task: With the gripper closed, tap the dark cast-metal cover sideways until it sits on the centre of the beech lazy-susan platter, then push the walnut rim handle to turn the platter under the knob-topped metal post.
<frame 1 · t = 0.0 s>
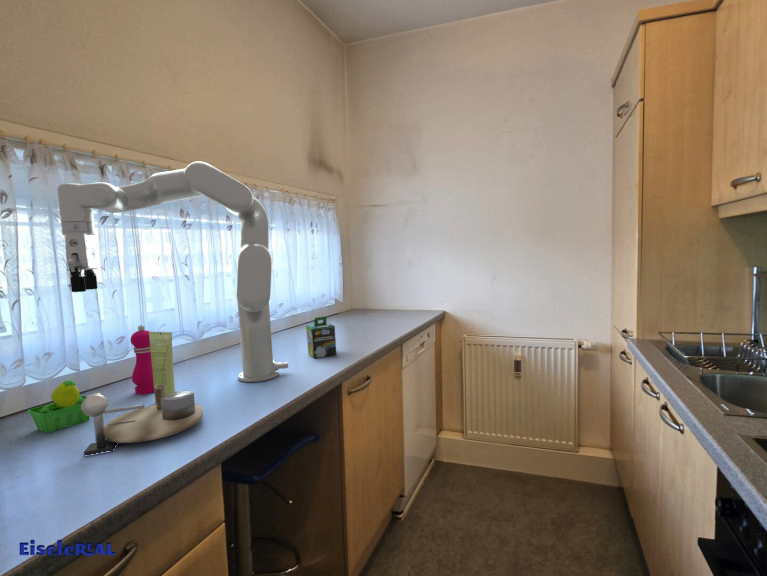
hand: (85, 290, 119), 31 cm above the worktop, tool pointing down, fingers open, 9 cm apart
chalk box: (322, 355, 162), on the worktop
turntable: (154, 410, 97), point 5 cm above the worktop, hinge at 0.0°, touching cover
fruit basket: (65, 425, 103), on the worktop
tube: (166, 402, 116), on the worktop
cover: (179, 414, 99), point 3 cm above the worktop, touching turntable
knob-topped metal post: (101, 449, 88), on the worktop
pepper mill: (147, 392, 126), on the worktop
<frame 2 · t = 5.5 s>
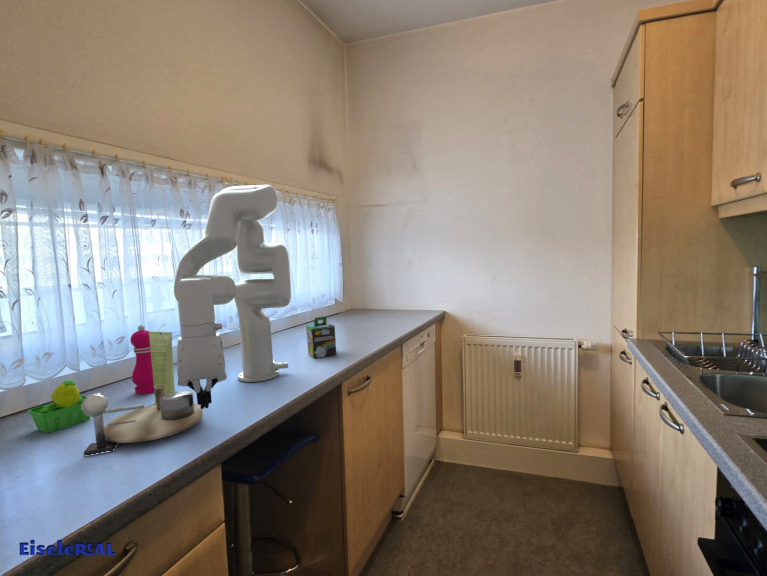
hand: (205, 406, 100), 4 cm above the worktop, tool pointing down, fingers closed
cover: (178, 414, 99), point 3 cm above the worktop, touching gripper, turntable
everything else where it was.
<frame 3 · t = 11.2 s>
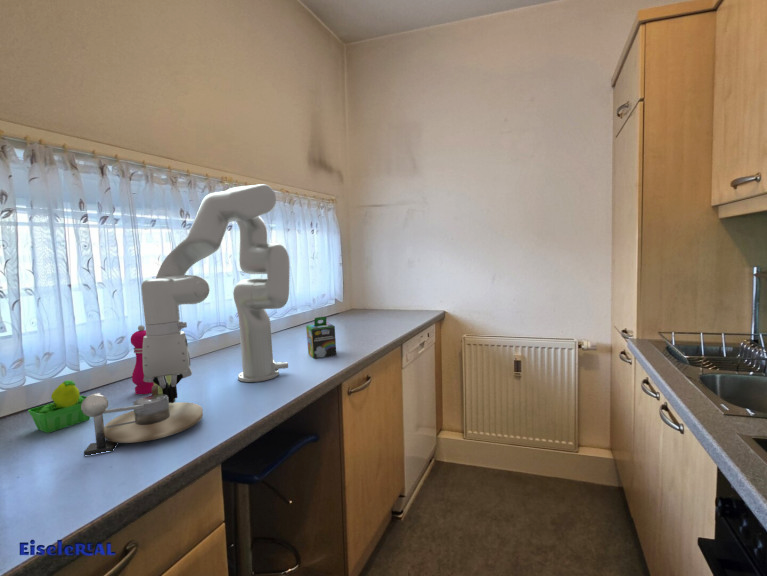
hand: (170, 401, 105), 4 cm above the worktop, tool pointing down, fingers closed
turntable: (154, 410, 97), point 5 cm above the worktop, hinge at 7.7°, touching cover, gripper
cover: (152, 418, 97), point 3 cm above the worktop, touching turntable
everything else where it was.
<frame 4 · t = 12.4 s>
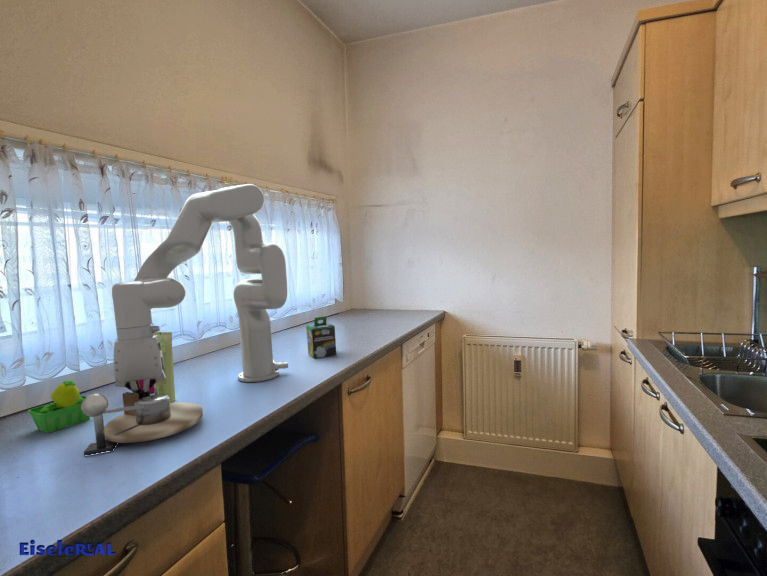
hand: (143, 406, 103), 3 cm above the worktop, tool pointing down, fingers closed
turntable: (154, 410, 97), point 5 cm above the worktop, hinge at 47.7°, touching cover, gripper
everything else where it was.
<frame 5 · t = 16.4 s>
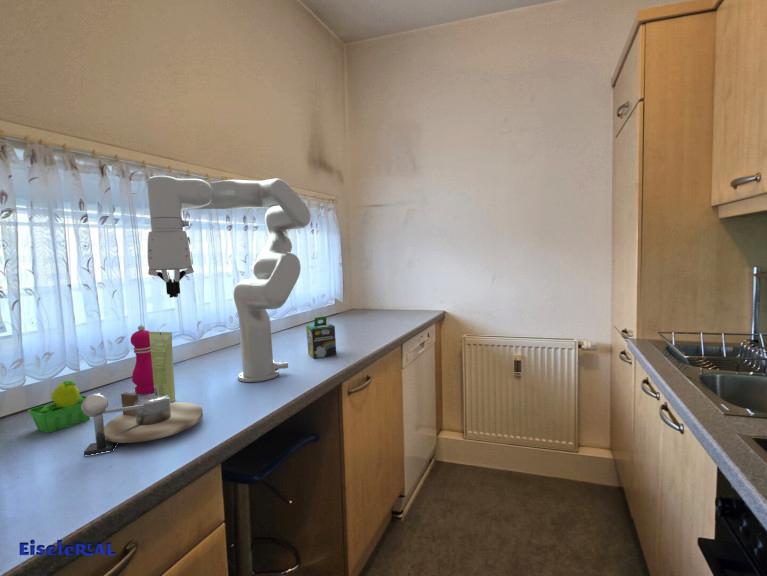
hand: (174, 296, 110), 29 cm above the worktop, tool pointing down, fingers closed
turntable: (154, 410, 97), point 5 cm above the worktop, hinge at 49.6°, touching cover
everything else where it was.
at the end: cover 0.5 cm from the turntable (horizontally); turntable at +50° (first picture: +0°); cover tilted 0° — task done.
